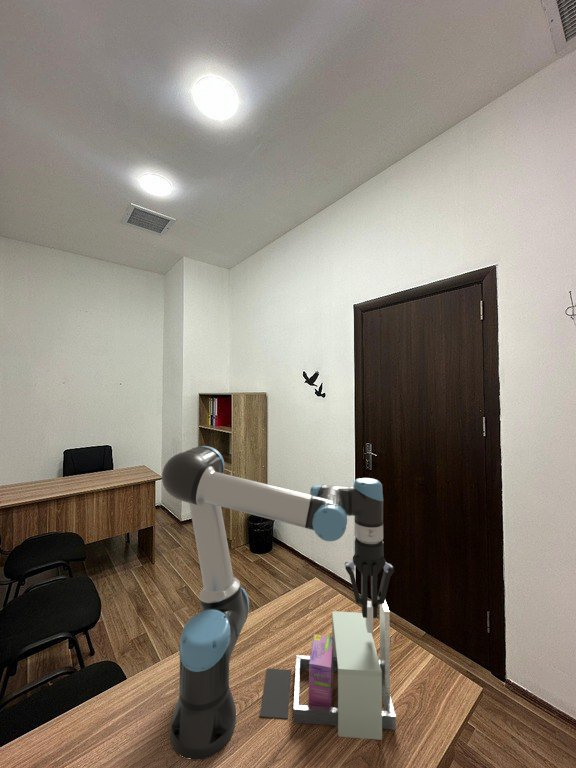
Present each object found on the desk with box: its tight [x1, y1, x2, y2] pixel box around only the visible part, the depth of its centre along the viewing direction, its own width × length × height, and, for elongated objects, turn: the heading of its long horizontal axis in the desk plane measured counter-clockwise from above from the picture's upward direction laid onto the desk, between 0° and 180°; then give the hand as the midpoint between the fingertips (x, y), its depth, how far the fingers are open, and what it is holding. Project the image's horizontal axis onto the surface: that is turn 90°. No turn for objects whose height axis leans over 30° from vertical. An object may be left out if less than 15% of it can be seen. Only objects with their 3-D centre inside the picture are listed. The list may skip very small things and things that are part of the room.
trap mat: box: [259, 667, 292, 720], centre depth 86 cm, size 7×14×1 cm, turn 176°
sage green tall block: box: [331, 610, 383, 741], centre depth 85 cm, size 10×20×15 cm, turn 176°
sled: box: [292, 600, 397, 731], centre depth 85 cm, size 24×16×24 cm
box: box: [308, 634, 334, 707], centre depth 85 cm, size 10×6×12 cm, turn 168°
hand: (369, 629), depth 85 cm, fingers closed
